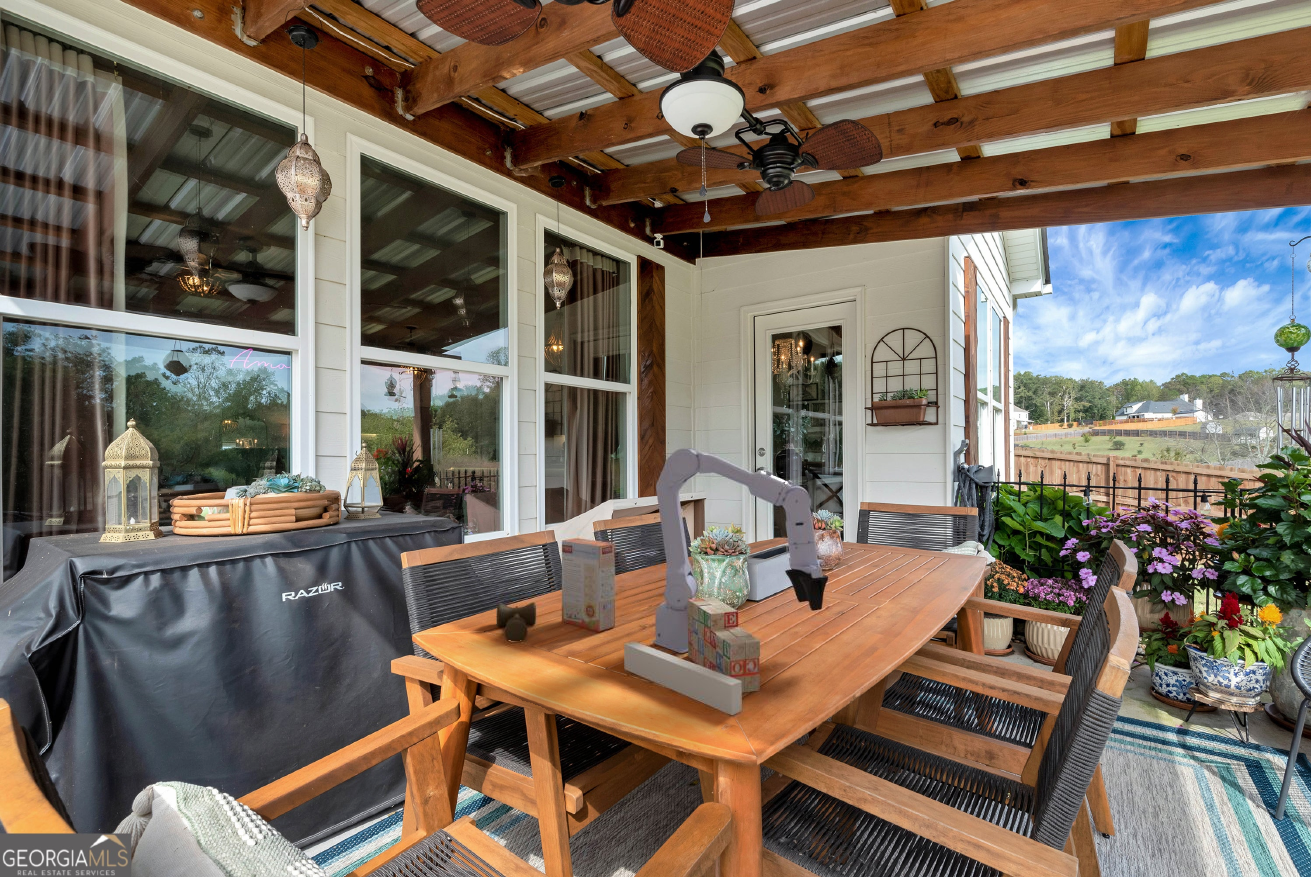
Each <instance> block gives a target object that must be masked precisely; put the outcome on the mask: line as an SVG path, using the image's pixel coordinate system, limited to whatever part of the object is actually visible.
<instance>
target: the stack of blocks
mask: <svg viewBox="0 0 1311 877" xmlns="http://www.w3.org/2000/svg"><path fill="white" fill-rule="evenodd" d="M687 604H688V651H687V652H688V654H687V656H688V657H689V658H690V659H691V660H692V661H693V663H694V664H697V665H699V666H702V667H705V668H707V669H710V670H713V671H716V672H718V673H721V674H724V675H726V676H729V677H732V678H734V679H737V680H740V681H742V694H743V693H751V692H758V691H760V671H761V670H760V669H761V668H760V657H761V641H760V639H758V638H757V637H755V636H754V635H753V634H750V633H749V632H748V631H746V630H744V629H743V628H742V627H739V611H738V610H737V609H735V608H733V607H732V606H729V605H728V604H726V603H725V602H722V601H721V600H719V599H718V598H716V597H714V596H711V597H701V598H695V599H688V600H687Z"/></svg>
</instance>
